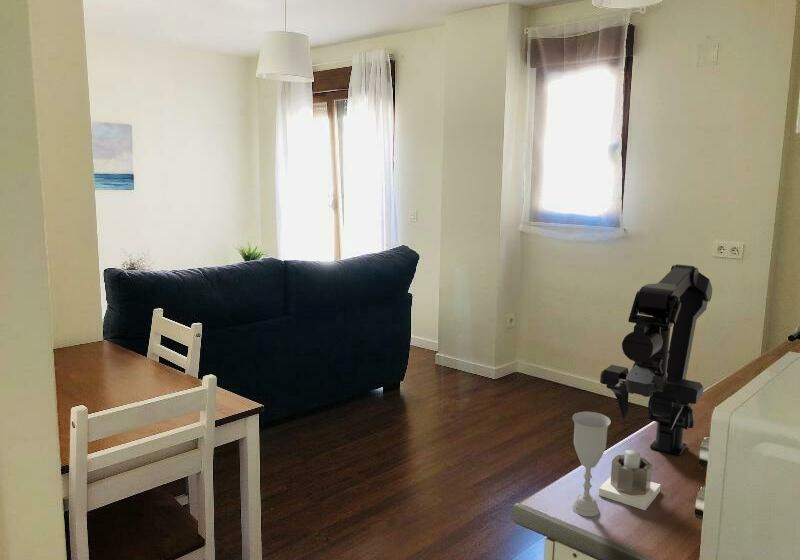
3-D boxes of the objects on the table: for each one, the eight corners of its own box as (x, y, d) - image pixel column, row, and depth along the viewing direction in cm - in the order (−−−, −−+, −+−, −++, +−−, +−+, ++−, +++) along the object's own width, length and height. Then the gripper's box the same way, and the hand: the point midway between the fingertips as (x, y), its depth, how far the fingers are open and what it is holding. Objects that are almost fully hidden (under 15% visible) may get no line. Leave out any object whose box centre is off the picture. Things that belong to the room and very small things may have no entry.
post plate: (615, 477, 134) (617, 439, 132) (659, 491, 128) (663, 451, 127) (598, 495, 127) (601, 454, 125) (645, 510, 121) (648, 468, 120)
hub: (618, 474, 132) (620, 451, 131) (653, 484, 128) (655, 461, 127) (606, 487, 127) (608, 464, 126) (642, 498, 123) (644, 474, 122)
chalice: (606, 521, 118) (613, 428, 114) (567, 517, 119) (573, 425, 116) (602, 501, 125) (608, 413, 121) (566, 497, 126) (571, 410, 123)
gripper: (592, 350, 128) (587, 424, 131) (691, 369, 117) (684, 449, 120) (612, 338, 137) (607, 407, 139) (707, 354, 125) (699, 430, 128)
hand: (647, 423), depth 131 cm, fingers open, 9 cm apart
